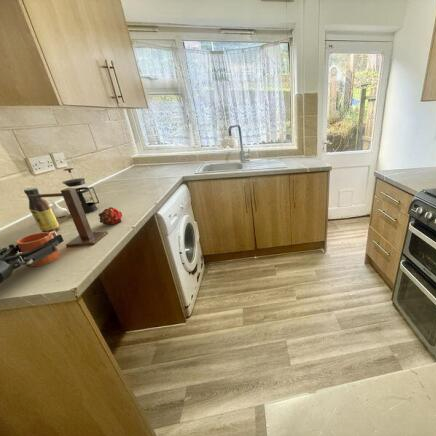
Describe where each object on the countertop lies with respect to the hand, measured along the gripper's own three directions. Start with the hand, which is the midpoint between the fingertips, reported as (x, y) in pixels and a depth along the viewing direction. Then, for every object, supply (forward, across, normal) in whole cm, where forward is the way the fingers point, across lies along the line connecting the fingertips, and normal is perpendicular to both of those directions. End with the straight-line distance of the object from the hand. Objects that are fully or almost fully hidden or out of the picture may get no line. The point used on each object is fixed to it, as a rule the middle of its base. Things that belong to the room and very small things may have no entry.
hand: (47, 238), depth 89 cm
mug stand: (+8, +2, -6) cm, 11 cm away
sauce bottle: (+21, -16, -6) cm, 27 cm away
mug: (-3, 0, -6) cm, 7 cm away
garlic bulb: (+40, -25, -6) cm, 48 cm away
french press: (+45, -15, -6) cm, 48 cm away
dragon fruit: (+25, +8, -6) cm, 27 cm away
